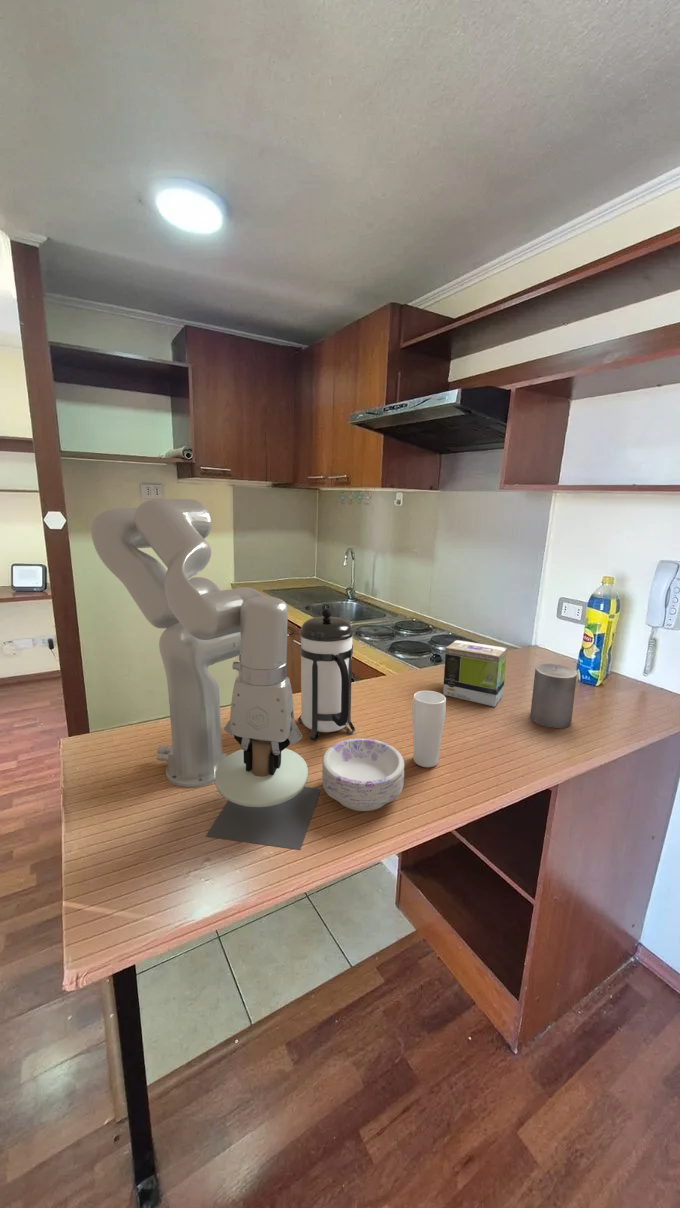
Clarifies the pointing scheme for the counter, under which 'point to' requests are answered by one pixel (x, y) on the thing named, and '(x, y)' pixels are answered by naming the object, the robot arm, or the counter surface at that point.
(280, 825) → the mat
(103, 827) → the counter surface
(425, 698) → the drinking glass
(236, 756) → the lid
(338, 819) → the counter surface
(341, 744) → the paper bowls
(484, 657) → the tea box
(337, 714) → the coffee press
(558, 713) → the pillar candle
